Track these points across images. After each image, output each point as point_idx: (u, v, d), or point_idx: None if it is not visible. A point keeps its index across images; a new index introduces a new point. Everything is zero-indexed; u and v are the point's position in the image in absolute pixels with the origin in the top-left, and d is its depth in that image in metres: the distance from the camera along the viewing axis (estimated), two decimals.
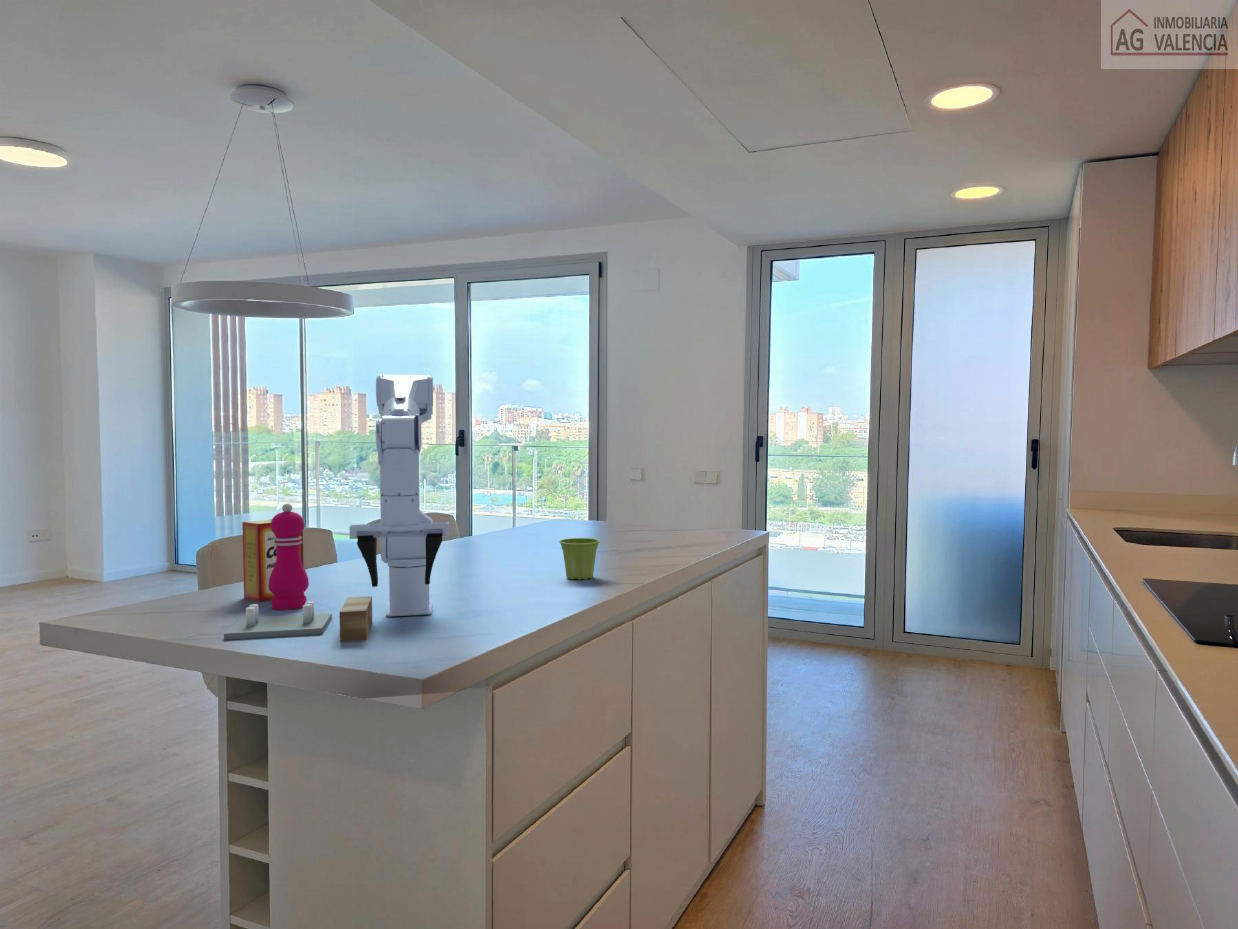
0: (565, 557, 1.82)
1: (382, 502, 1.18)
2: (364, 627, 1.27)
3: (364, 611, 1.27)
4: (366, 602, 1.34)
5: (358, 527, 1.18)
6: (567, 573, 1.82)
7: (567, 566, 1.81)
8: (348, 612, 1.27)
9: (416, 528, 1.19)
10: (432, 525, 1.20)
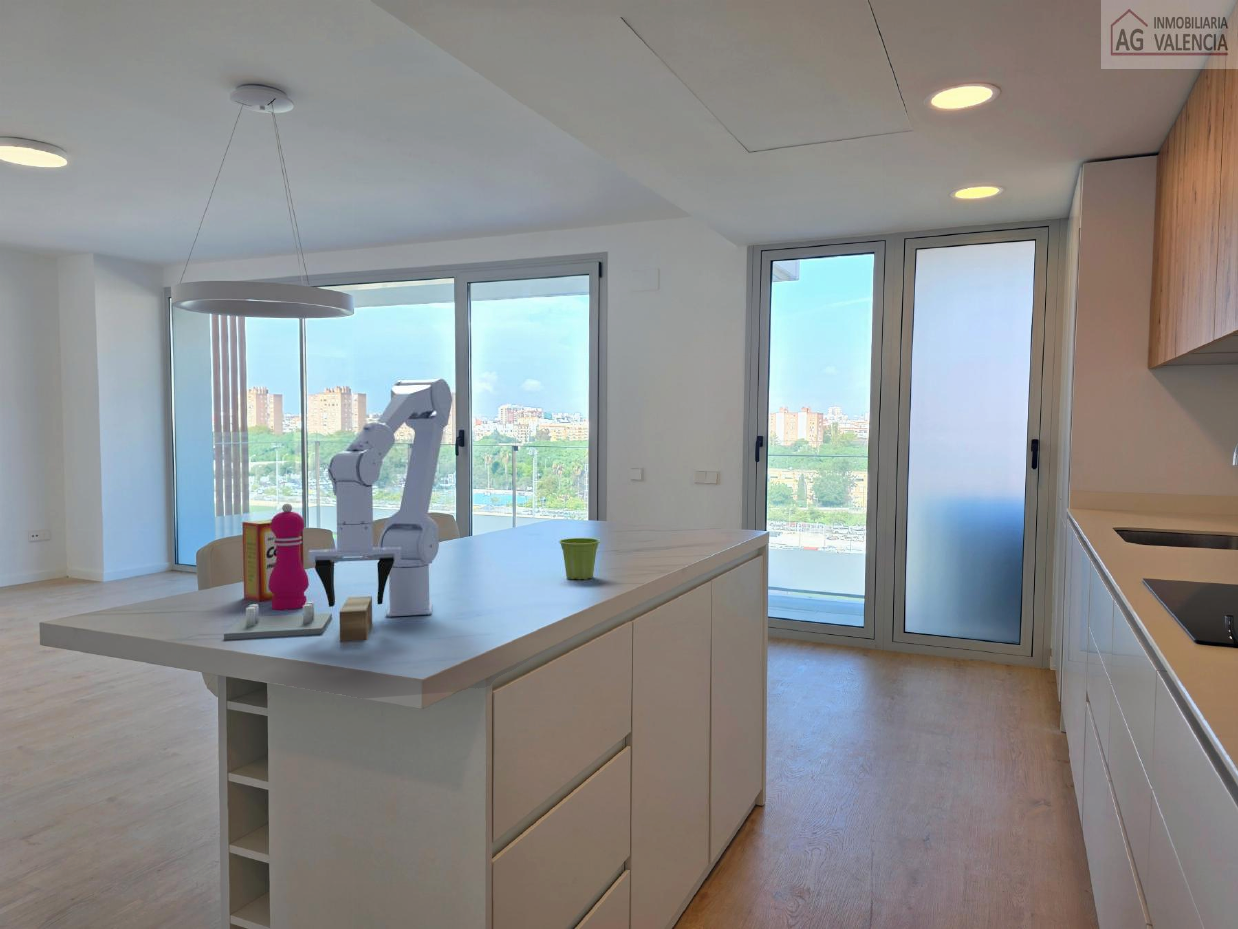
0: (565, 557, 1.82)
1: (338, 530, 1.30)
2: (364, 627, 1.27)
3: (364, 611, 1.27)
4: (366, 602, 1.34)
5: (316, 552, 1.30)
6: (567, 573, 1.82)
7: (567, 566, 1.81)
8: (348, 612, 1.27)
9: (369, 553, 1.31)
10: (384, 550, 1.32)
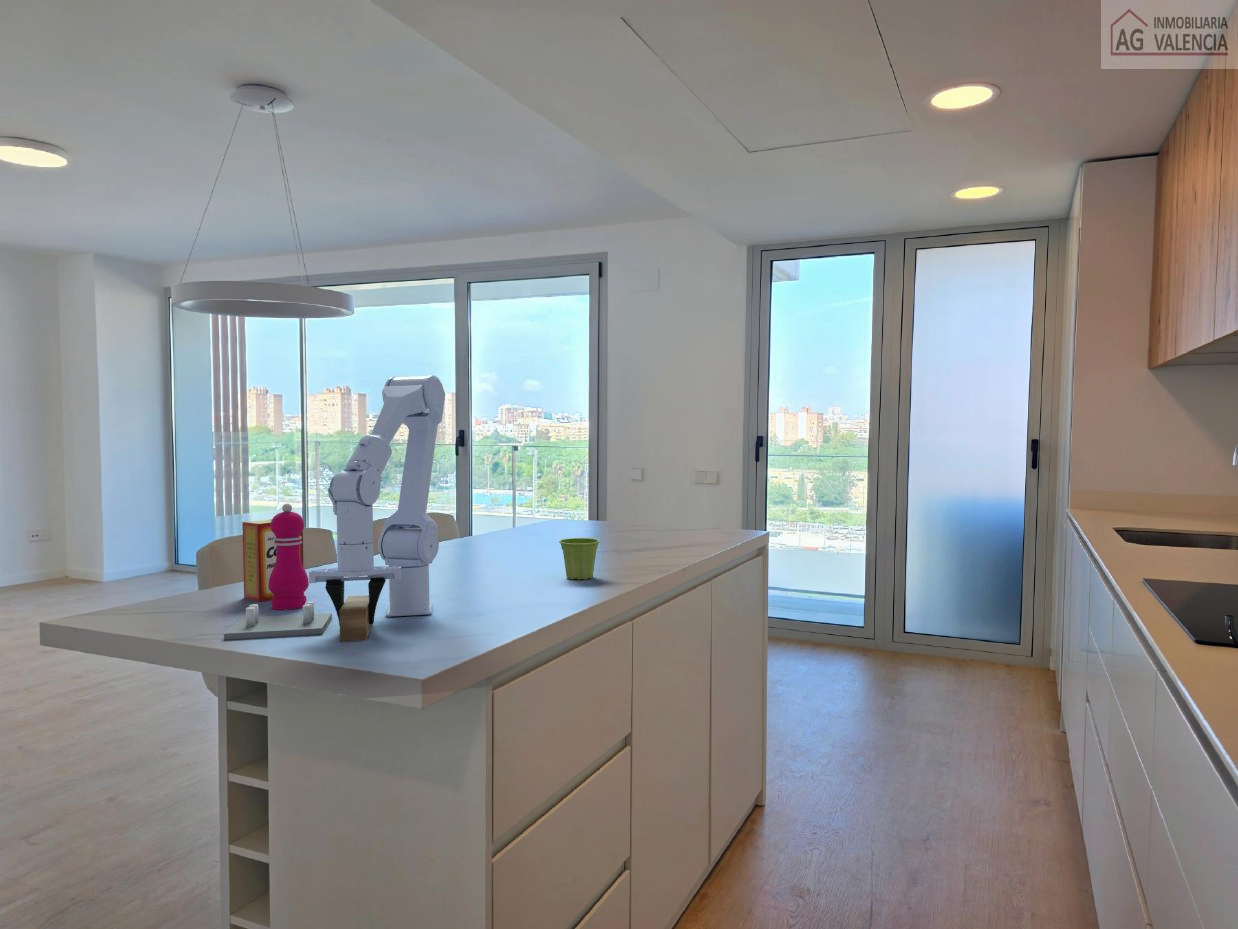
0: (565, 557, 1.82)
1: (338, 550, 1.30)
2: (364, 626, 1.27)
3: (364, 610, 1.27)
4: (366, 601, 1.34)
5: (317, 572, 1.30)
6: (567, 573, 1.82)
7: (567, 566, 1.81)
8: (348, 611, 1.27)
9: (369, 573, 1.31)
10: (384, 570, 1.32)
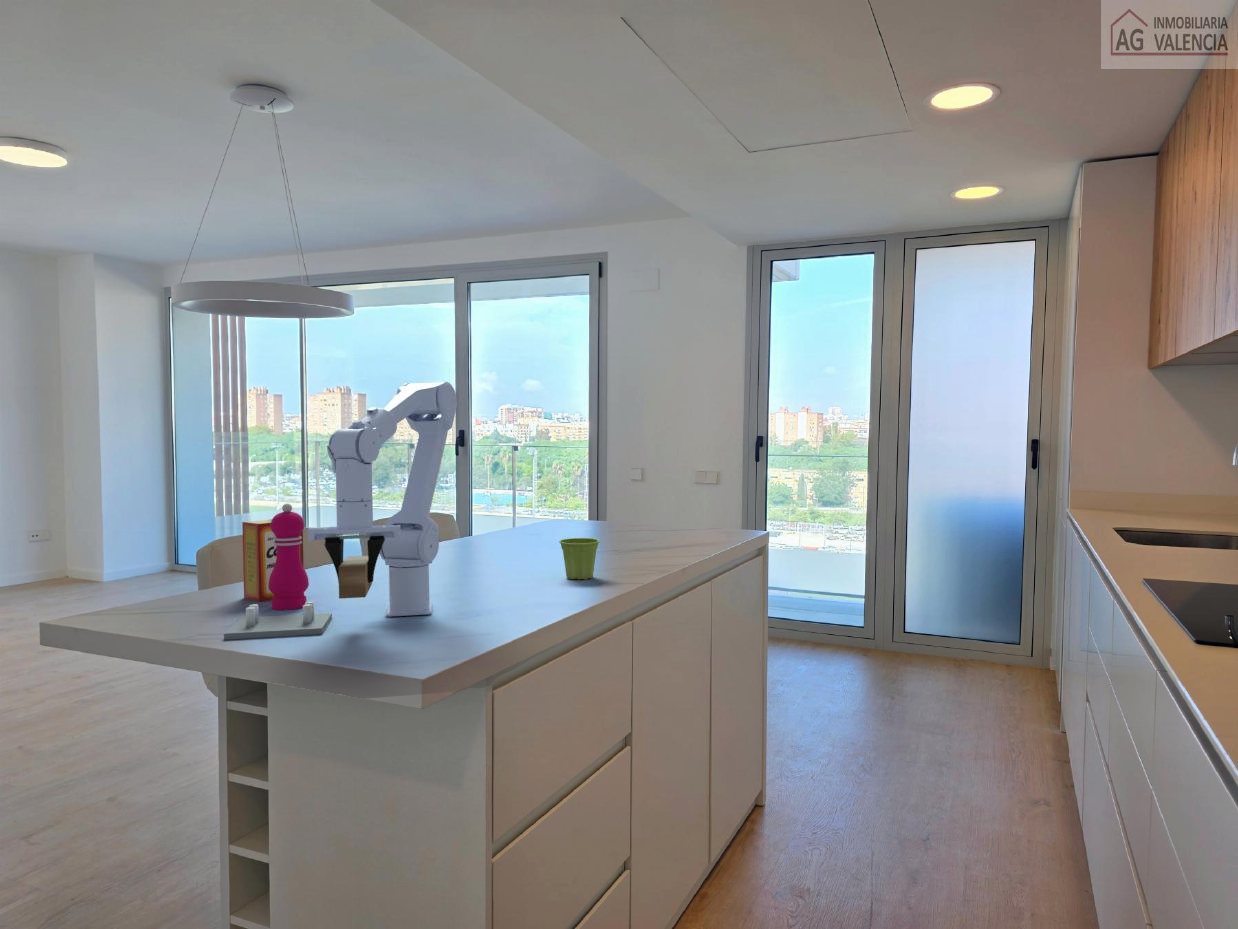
0: (565, 557, 1.82)
1: (338, 507, 1.30)
2: (363, 583, 1.27)
3: (363, 567, 1.27)
4: (365, 560, 1.33)
5: (316, 530, 1.30)
6: (567, 573, 1.82)
7: (567, 566, 1.81)
8: (347, 567, 1.26)
9: (369, 531, 1.30)
10: (384, 528, 1.32)
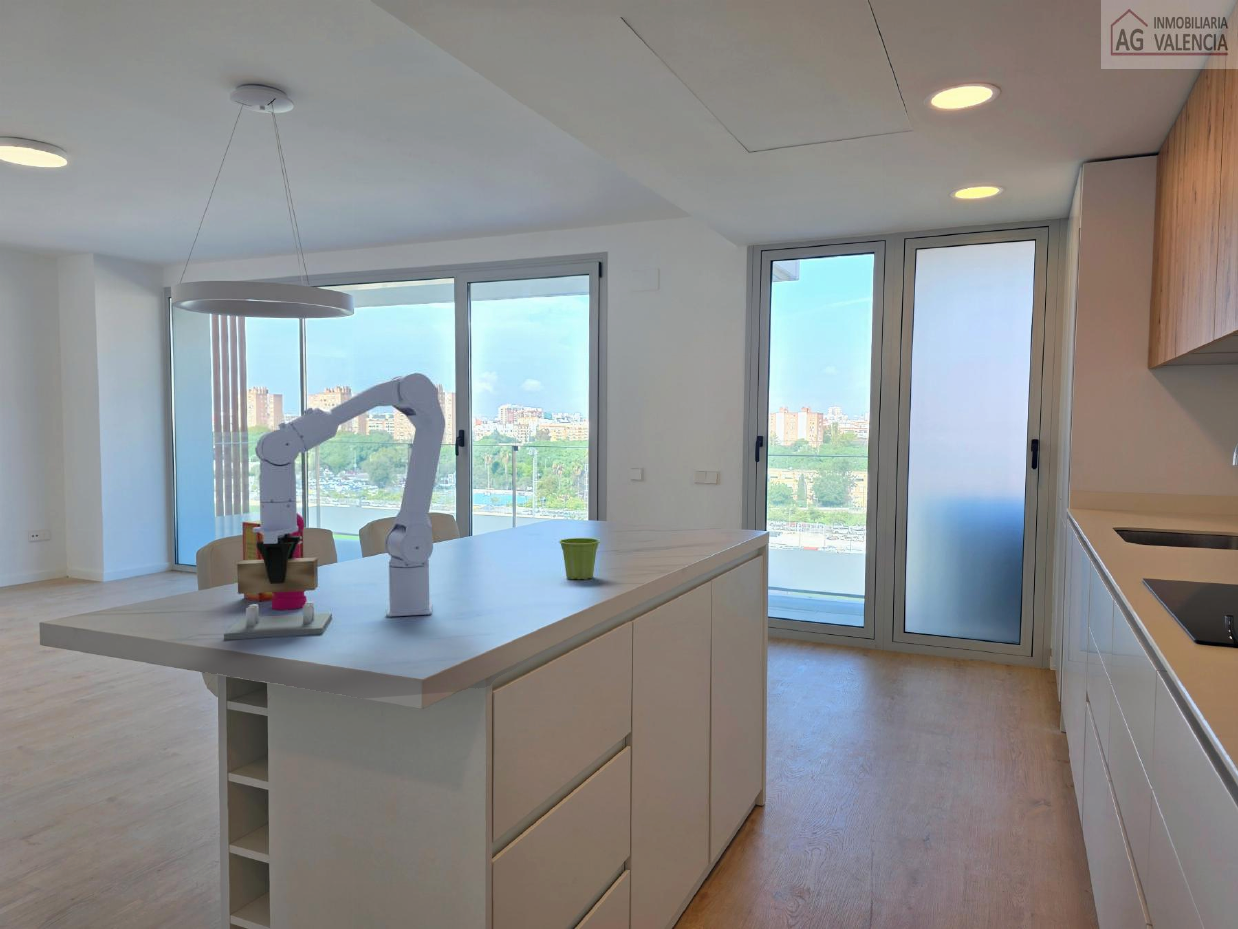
0: (565, 557, 1.82)
1: None
2: (238, 579, 1.32)
3: None
4: None
5: None
6: (567, 573, 1.82)
7: (567, 566, 1.81)
8: (241, 562, 1.35)
9: (260, 532, 1.32)
10: (263, 531, 1.30)
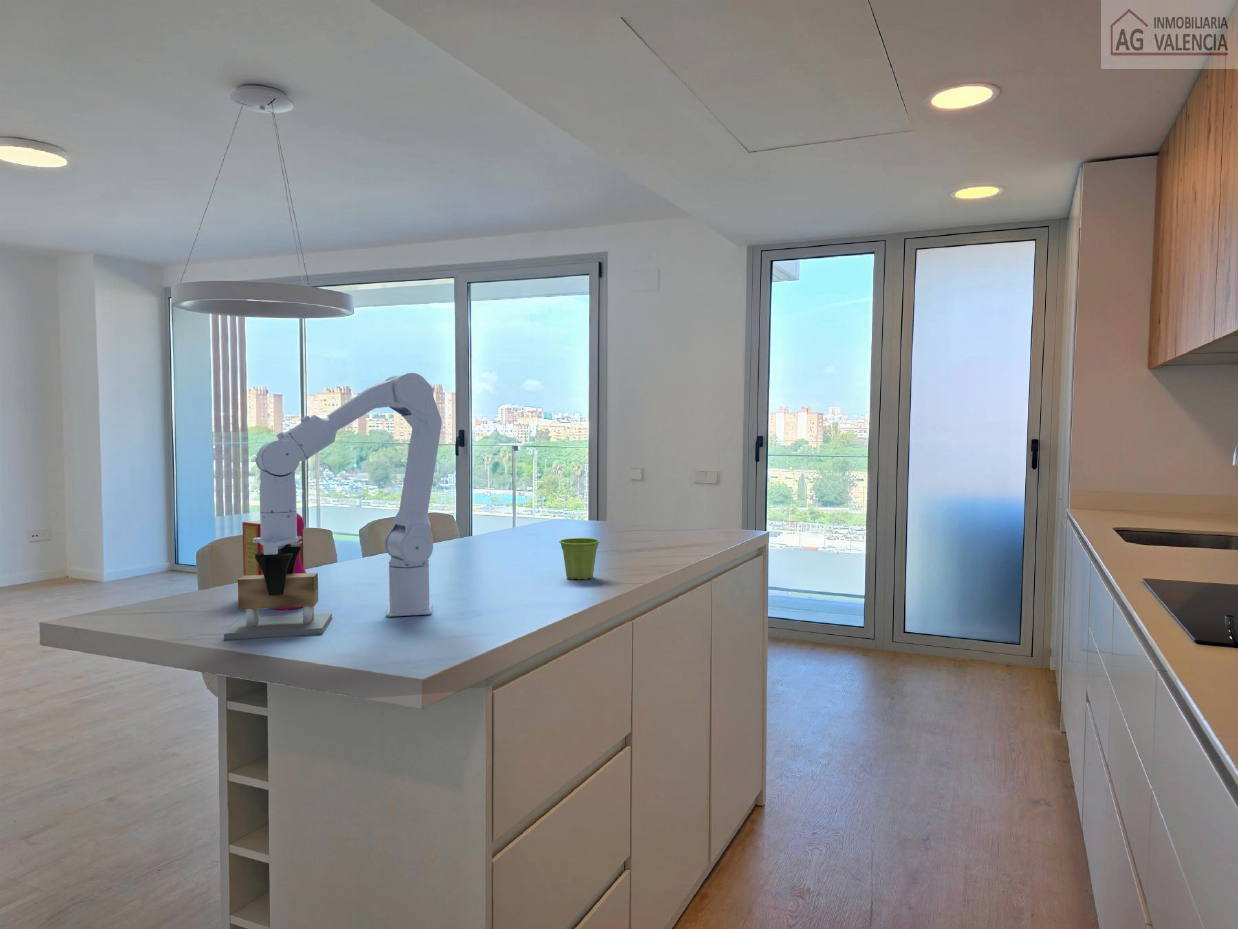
0: (565, 557, 1.82)
1: None
2: None
3: (238, 580, 1.32)
4: None
5: None
6: (567, 573, 1.82)
7: (567, 566, 1.81)
8: (242, 577, 1.35)
9: (261, 542, 1.32)
10: (263, 542, 1.30)
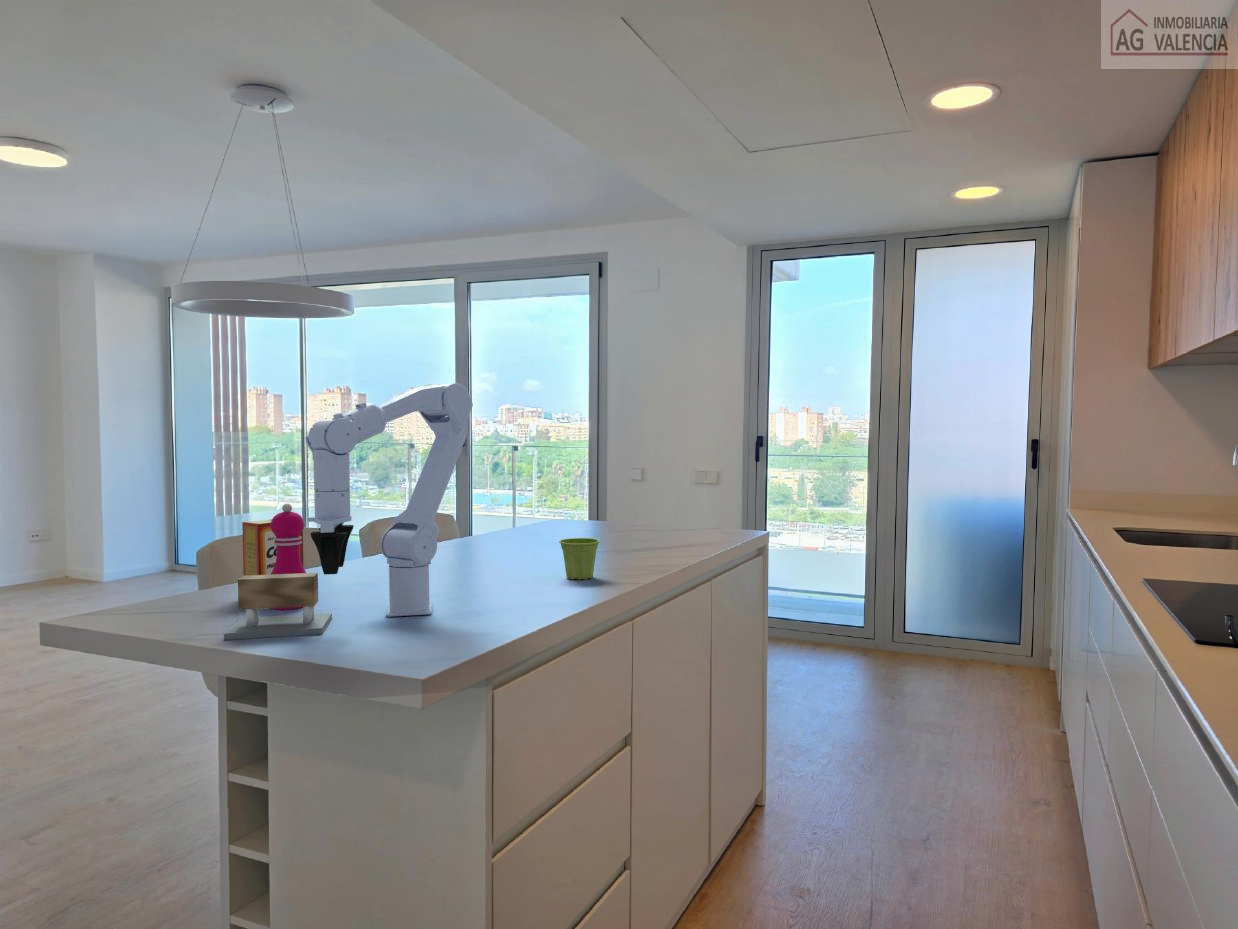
0: (565, 557, 1.82)
1: None
2: None
3: (238, 580, 1.32)
4: (281, 577, 1.34)
5: None
6: (567, 573, 1.82)
7: (567, 566, 1.81)
8: (242, 577, 1.35)
9: (315, 521, 1.32)
10: (318, 520, 1.30)
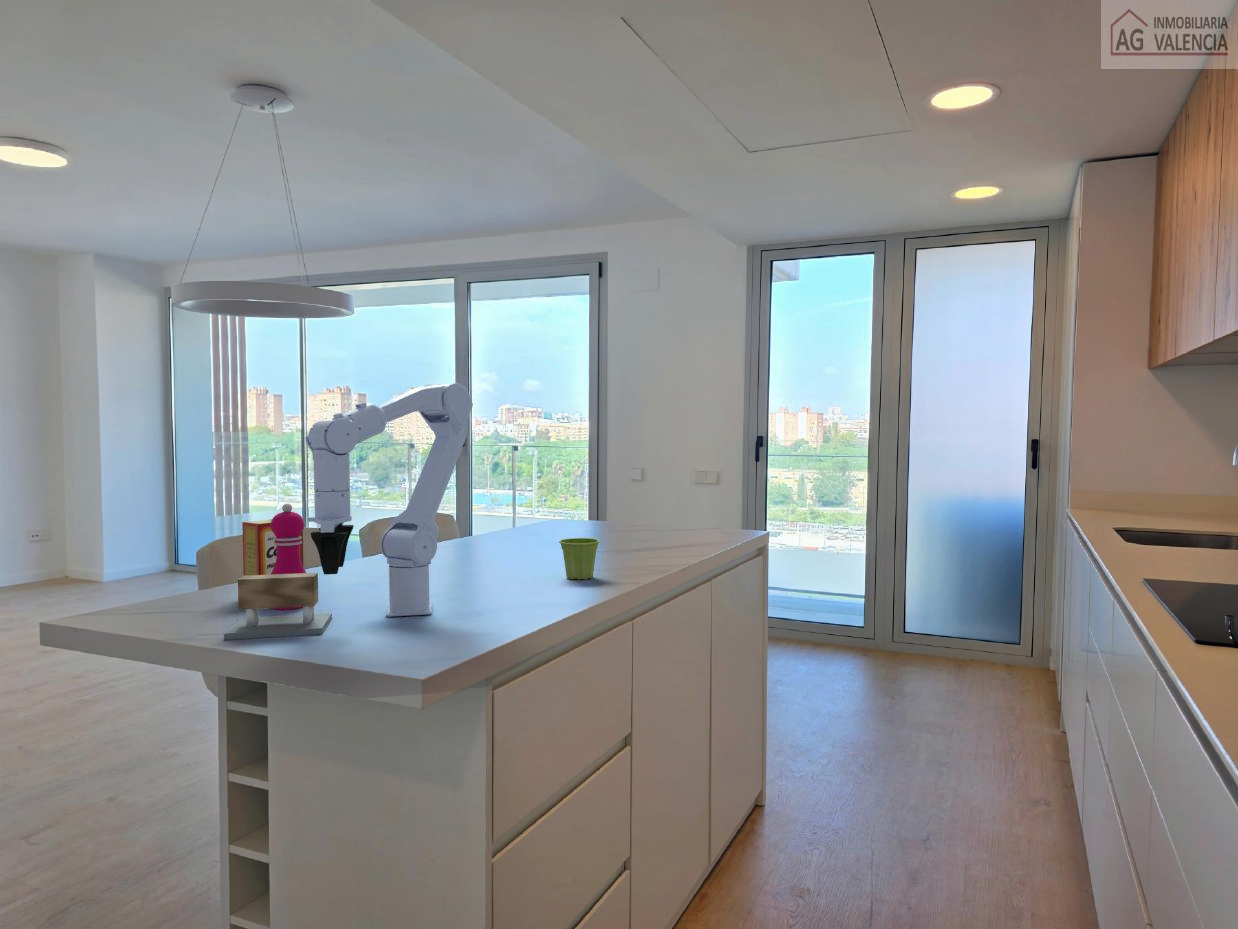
0: (565, 557, 1.82)
1: None
2: None
3: (238, 580, 1.32)
4: (281, 577, 1.34)
5: None
6: (567, 573, 1.82)
7: (567, 566, 1.81)
8: (242, 577, 1.35)
9: (315, 521, 1.32)
10: (319, 520, 1.30)
